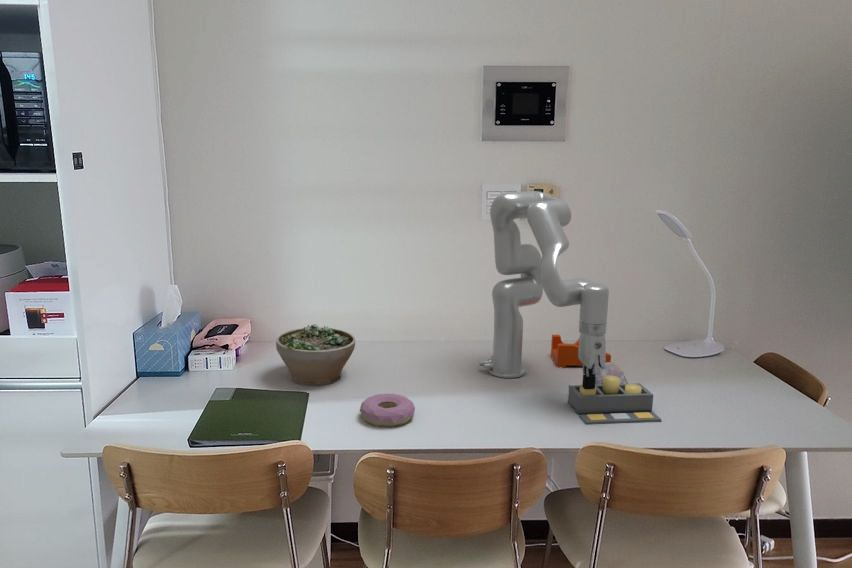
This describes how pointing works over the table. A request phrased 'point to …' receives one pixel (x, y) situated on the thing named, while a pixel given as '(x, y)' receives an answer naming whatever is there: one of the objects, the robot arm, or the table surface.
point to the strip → (619, 418)
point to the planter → (315, 354)
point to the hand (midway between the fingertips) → (588, 388)
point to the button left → (587, 391)
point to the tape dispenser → (567, 353)
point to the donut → (387, 410)
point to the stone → (610, 373)
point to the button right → (633, 389)
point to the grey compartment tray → (610, 401)
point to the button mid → (610, 385)
